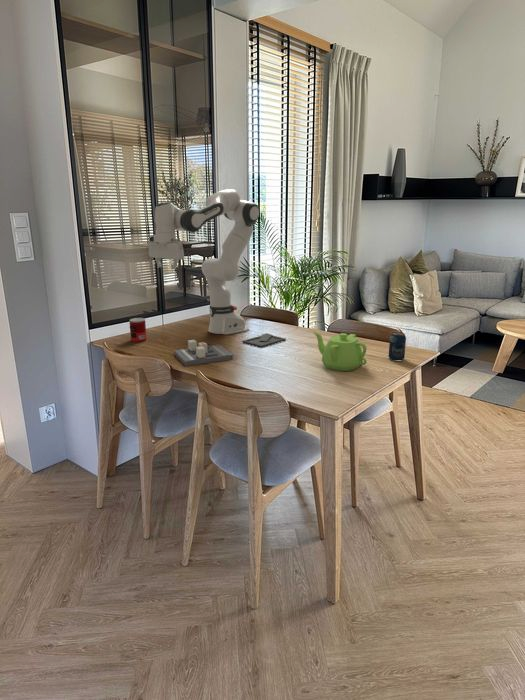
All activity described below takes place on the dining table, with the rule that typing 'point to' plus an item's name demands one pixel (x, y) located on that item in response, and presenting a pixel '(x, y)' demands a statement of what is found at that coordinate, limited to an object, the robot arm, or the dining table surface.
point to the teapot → (342, 352)
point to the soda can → (397, 346)
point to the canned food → (138, 329)
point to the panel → (213, 355)
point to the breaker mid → (203, 346)
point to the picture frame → (263, 340)
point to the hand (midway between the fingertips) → (166, 268)
